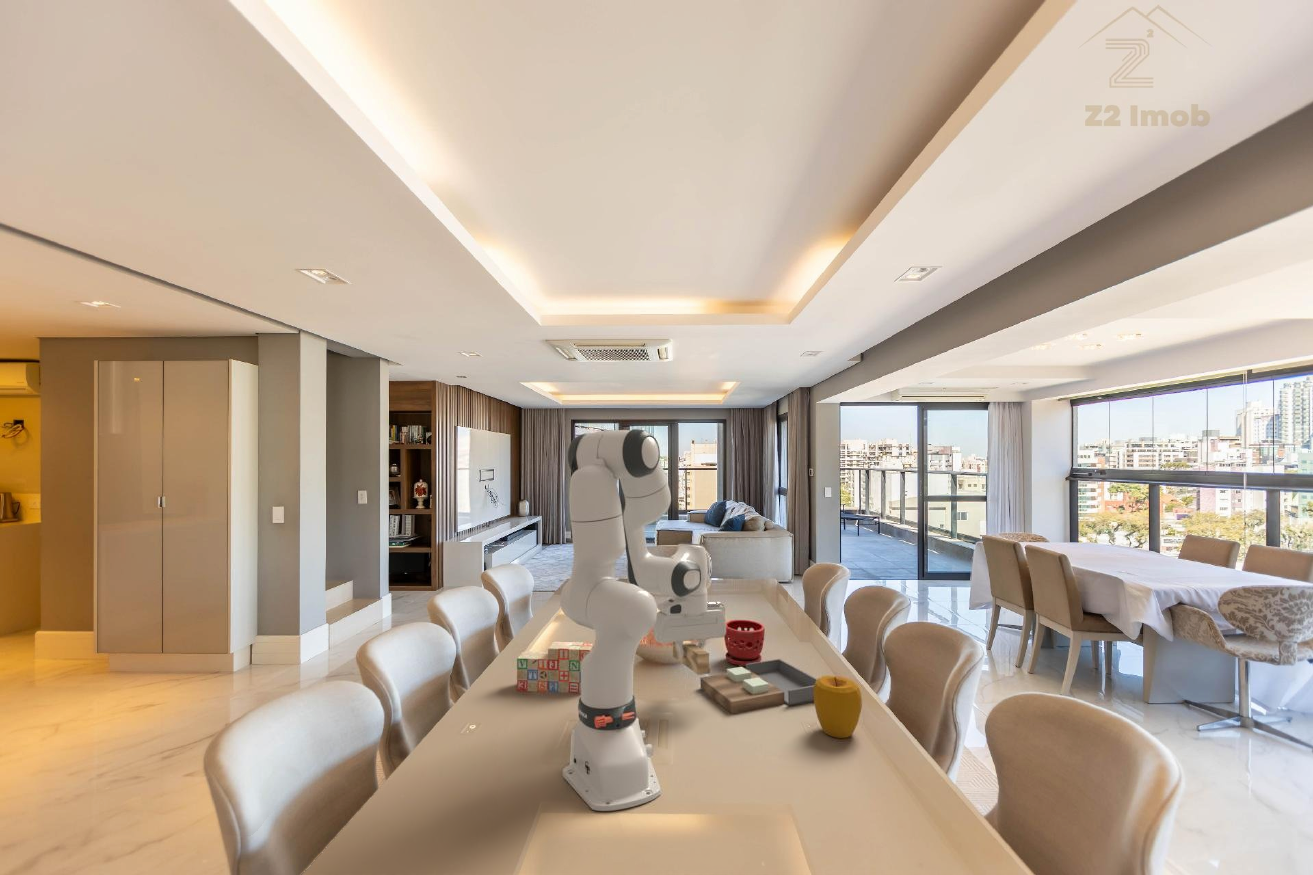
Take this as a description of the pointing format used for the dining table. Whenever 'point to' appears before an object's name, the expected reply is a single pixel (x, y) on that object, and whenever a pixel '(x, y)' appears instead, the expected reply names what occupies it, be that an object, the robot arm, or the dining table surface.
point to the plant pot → (744, 642)
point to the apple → (837, 705)
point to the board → (739, 694)
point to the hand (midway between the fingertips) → (690, 656)
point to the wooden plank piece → (693, 657)
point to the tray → (786, 680)
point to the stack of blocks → (553, 668)
